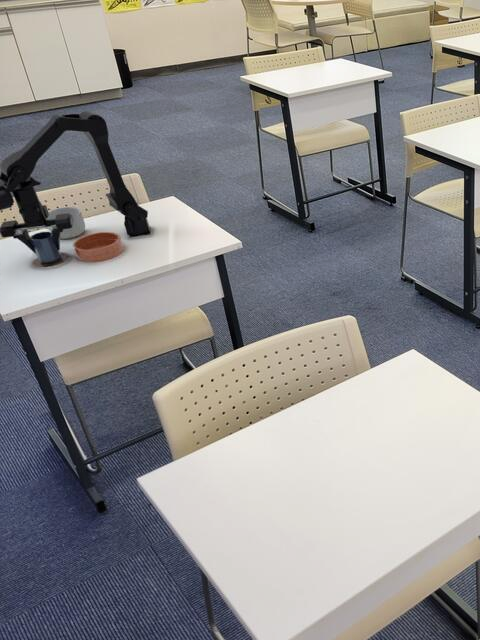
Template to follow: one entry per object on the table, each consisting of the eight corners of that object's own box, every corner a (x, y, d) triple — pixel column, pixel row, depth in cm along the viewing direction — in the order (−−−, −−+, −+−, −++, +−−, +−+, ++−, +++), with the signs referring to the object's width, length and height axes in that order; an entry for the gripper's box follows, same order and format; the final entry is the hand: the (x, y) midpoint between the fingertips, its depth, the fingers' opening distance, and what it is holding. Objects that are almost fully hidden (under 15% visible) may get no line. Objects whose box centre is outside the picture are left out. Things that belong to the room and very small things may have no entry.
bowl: (125, 242, 224) (121, 229, 221) (123, 259, 214) (118, 246, 211) (80, 248, 220) (75, 235, 218) (75, 266, 210) (70, 253, 207)
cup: (62, 252, 216) (53, 230, 211) (60, 261, 211) (51, 238, 206) (41, 255, 214) (31, 233, 210) (38, 264, 209) (28, 241, 205)
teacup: (95, 229, 232) (87, 206, 227) (76, 243, 223) (68, 220, 219) (55, 228, 233) (47, 205, 229) (35, 242, 224) (26, 218, 220)
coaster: (71, 252, 218) (70, 250, 218) (67, 265, 211) (67, 264, 210) (35, 257, 215) (35, 255, 215) (30, 271, 208) (30, 269, 207)
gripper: (66, 188, 211) (84, 235, 220) (-3, 197, 206) (17, 245, 215) (62, 201, 202) (80, 250, 211) (-11, 211, 197) (11, 260, 206)
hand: (47, 251), depth 211 cm, fingers closed on cup, 6 cm apart
